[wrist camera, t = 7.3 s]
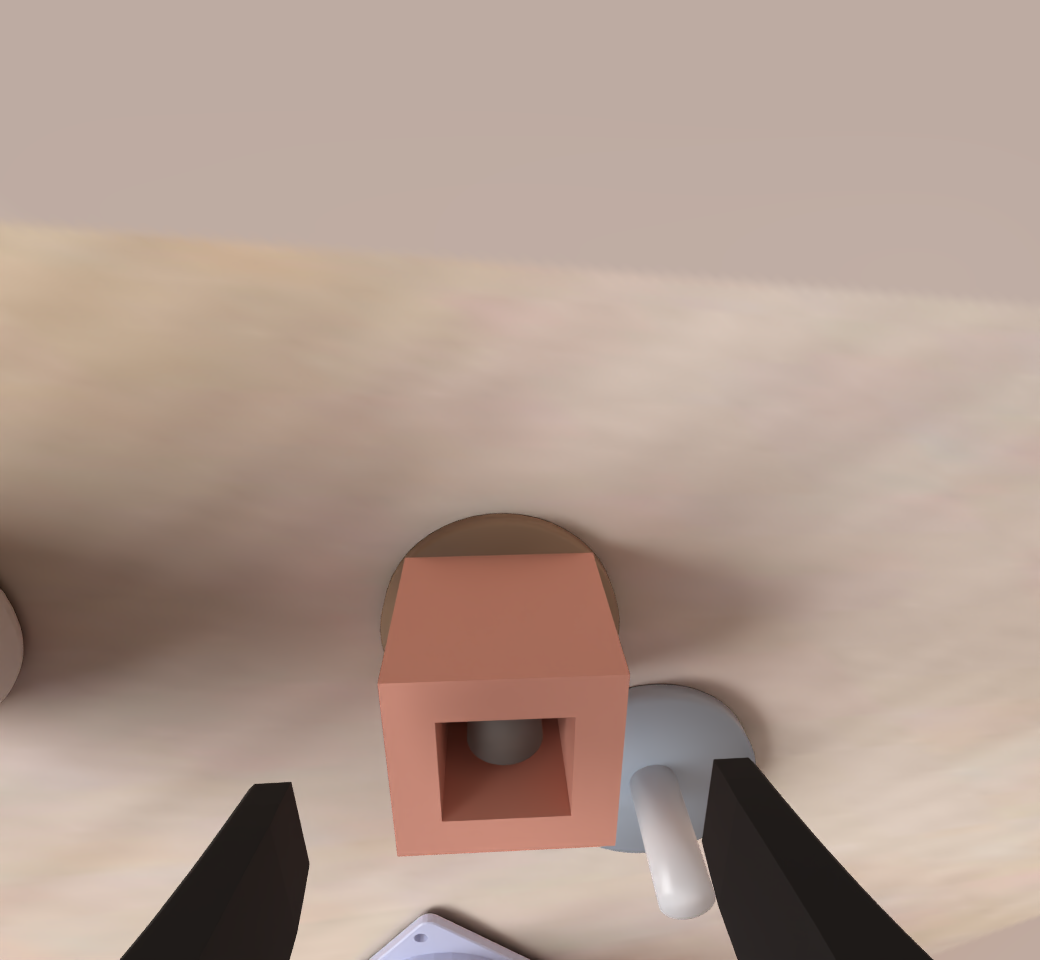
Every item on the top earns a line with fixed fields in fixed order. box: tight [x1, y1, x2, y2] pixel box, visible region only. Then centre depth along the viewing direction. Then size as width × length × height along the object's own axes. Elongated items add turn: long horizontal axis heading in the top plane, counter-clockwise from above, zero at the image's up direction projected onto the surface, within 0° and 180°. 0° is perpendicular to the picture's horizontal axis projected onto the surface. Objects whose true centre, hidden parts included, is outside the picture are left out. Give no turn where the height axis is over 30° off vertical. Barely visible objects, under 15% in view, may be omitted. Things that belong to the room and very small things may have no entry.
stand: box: [600, 684, 756, 919], centre depth 20 cm, size 7×7×5 cm
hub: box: [380, 514, 619, 765], centre depth 17 cm, size 7×7×5 cm
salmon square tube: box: [378, 553, 630, 856], centre depth 17 cm, size 5×5×5 cm
